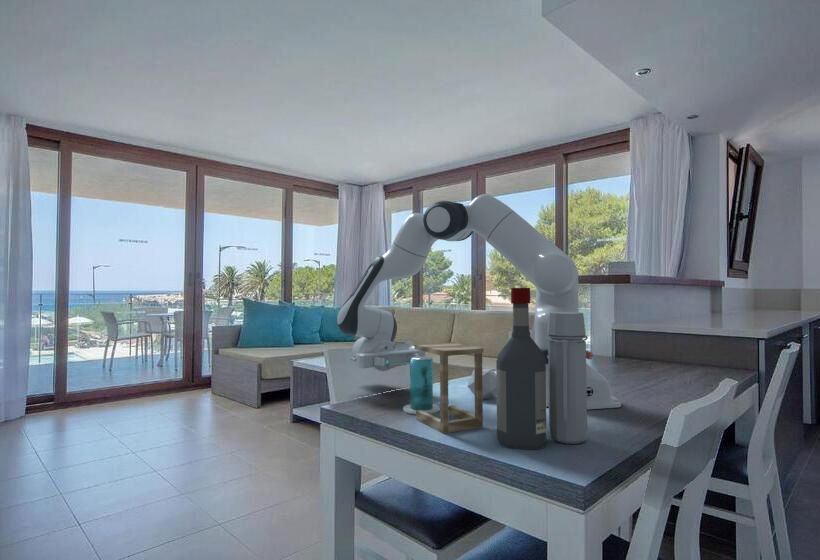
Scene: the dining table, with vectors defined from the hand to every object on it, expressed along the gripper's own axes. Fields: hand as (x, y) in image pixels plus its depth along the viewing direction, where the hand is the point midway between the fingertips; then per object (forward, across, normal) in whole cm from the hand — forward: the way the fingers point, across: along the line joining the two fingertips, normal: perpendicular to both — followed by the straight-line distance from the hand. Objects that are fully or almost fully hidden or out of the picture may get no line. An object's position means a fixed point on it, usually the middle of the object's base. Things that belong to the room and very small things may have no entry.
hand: (402, 361), depth 126 cm
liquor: (+41, +6, +11) cm, 43 cm away
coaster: (+11, 0, +11) cm, 15 cm away
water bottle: (+45, +14, +12) cm, 48 cm away
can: (+11, 0, +10) cm, 15 cm away
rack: (+23, 0, +11) cm, 25 cm away
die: (+7, +21, +11) cm, 25 cm away
